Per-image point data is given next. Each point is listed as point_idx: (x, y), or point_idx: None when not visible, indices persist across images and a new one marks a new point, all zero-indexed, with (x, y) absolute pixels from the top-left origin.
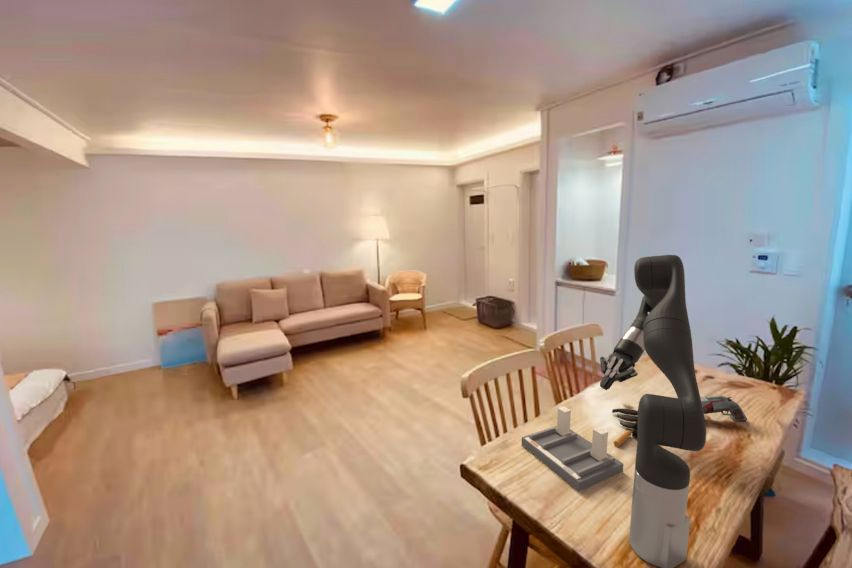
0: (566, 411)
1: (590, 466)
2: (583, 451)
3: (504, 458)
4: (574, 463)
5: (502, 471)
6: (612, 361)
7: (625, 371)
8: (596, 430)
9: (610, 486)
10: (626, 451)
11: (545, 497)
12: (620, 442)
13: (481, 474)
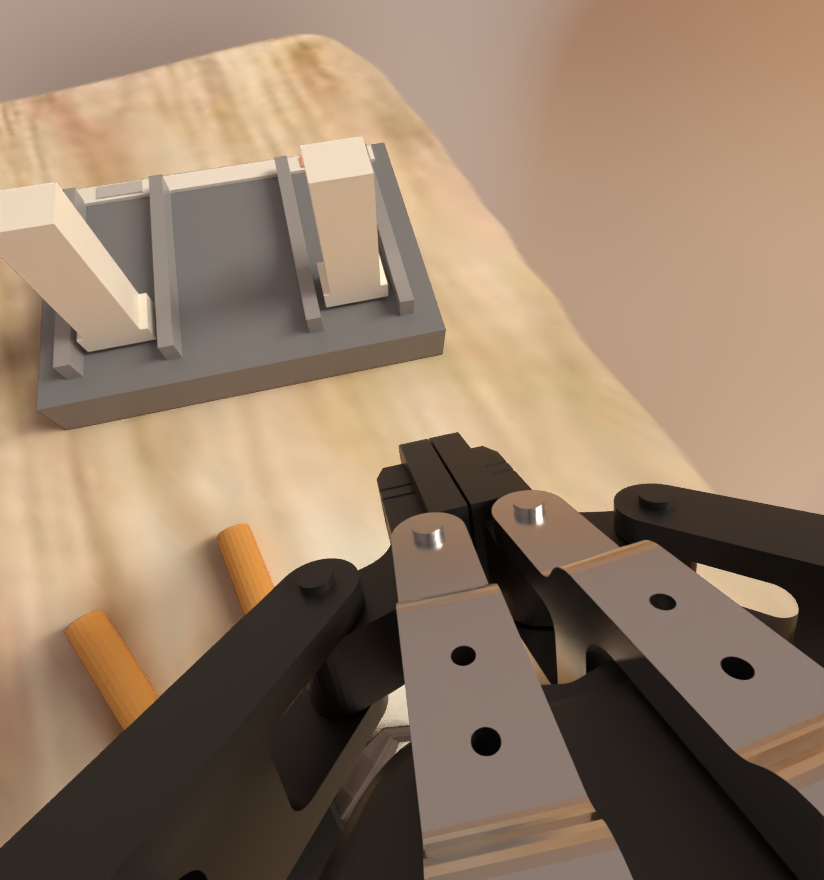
0: (303, 156)
1: None
2: (166, 271)
3: (326, 108)
4: (146, 230)
5: (266, 85)
6: (807, 719)
7: (171, 783)
8: (33, 190)
9: (31, 330)
10: (178, 559)
11: (106, 136)
12: (222, 554)
13: (276, 42)
